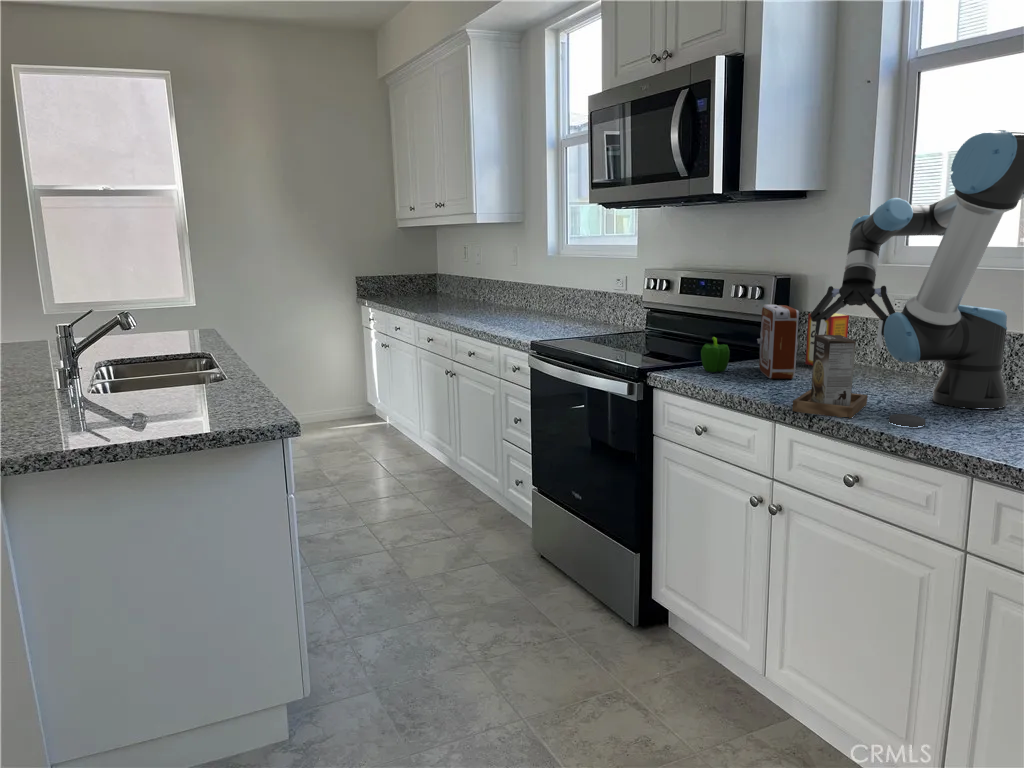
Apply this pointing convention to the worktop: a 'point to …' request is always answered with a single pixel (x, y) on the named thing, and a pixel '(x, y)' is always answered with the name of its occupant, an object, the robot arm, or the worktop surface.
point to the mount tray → (829, 406)
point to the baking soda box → (833, 327)
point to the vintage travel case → (778, 341)
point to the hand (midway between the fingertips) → (848, 345)
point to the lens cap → (906, 420)
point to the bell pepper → (715, 356)
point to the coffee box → (832, 369)
